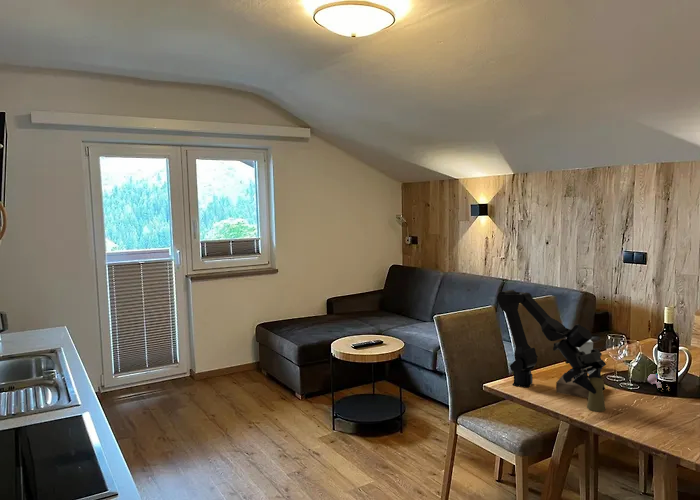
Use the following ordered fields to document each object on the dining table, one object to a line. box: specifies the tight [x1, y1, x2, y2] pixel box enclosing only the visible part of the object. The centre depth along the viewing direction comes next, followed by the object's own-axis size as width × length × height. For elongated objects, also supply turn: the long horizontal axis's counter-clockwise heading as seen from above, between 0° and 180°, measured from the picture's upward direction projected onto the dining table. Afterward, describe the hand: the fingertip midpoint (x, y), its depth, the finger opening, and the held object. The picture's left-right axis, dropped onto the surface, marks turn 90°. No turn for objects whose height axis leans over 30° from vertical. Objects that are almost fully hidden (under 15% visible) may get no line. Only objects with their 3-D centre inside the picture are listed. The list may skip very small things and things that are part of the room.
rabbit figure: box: [647, 372, 670, 391], centre depth 205 cm, size 6×6×15 cm
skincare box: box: [577, 339, 594, 354], centre depth 230 cm, size 6×4×12 cm
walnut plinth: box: [555, 372, 589, 399], centre depth 203 cm, size 14×14×4 cm
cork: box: [586, 377, 606, 413], centre depth 184 cm, size 6×6×11 cm
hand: (599, 391), depth 183 cm, fingers closed on cork, 5 cm apart
